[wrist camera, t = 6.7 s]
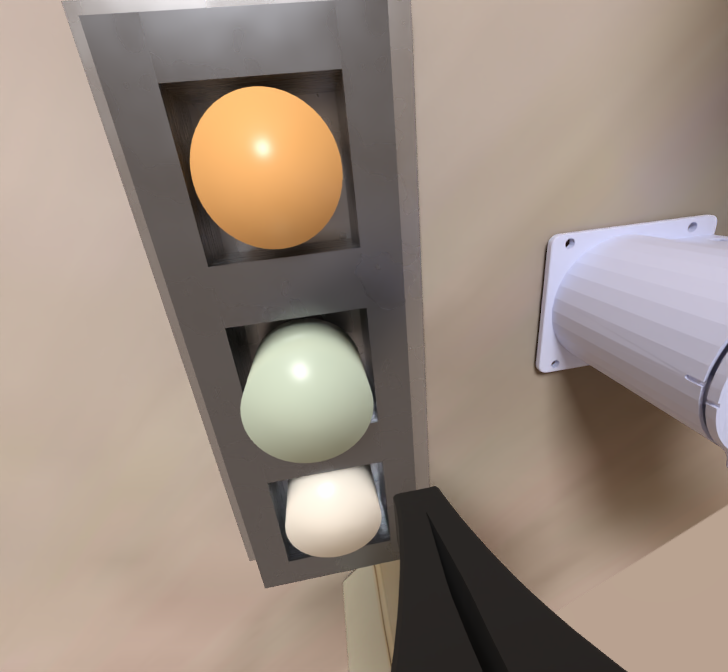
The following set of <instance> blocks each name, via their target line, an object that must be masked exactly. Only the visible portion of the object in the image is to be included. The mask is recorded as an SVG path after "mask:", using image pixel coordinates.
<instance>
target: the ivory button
mask: <svg viewBox="0 0 728 672" xmlns="http://www.w3.org/2000/svg"><path fill="white" fill-rule="evenodd" d="M381 519H382V518H381V510H380V505H379V501H378V497H377V492H376V488H375V484H374V479H373V475H372V471H371V466H370V464H368V465H362V466H357V467H352V468H346V469H341V470H335V471H330V472H325V473H319V474H314V475H309V476H303V477H298V478H293V479H288V490H287V506H286V522H285V530H286V535H287V537H288V539H289V541H290V542H291V544H292V545H293V546H294V547H295V548H297V549H298V550H300V551H301V552H303V553H305V554H308V555H311V556H316V557H338V556H343V555H346V554H349V553H352V552H354V551H356V550H358V549H360V548H362V547H363V546H365V545H366V544H367V543H368V542H369V541H371V540H372V538H373V537H374V536H375V535H376V533H377V532H378V530H379V527H380V524H381Z"/></svg>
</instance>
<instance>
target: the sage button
mask: <svg viewBox="0 0 728 672" xmlns="http://www.w3.org/2000/svg"><path fill="white" fill-rule="evenodd" d="M240 410H241V419H242V423H243V426H244V429H245V431H246V432H247V434H248V436H249V437H250V439H251V440H252V441H253V442H254V443H255V444H256V445H257V446H258V447H259V448H260V449H261V450H263V451H264V452H266V453H267V454H269V455H271V456H273V457H275V458H278V459H281V460H284V461H288V462H294V463H315V462H321V461H325V460H328V459H331V458H334V457H336V456H338V455H340V454H342V453H344V452H345V451H347V450H349V449H350V448H351V447H352V446H354V445H355V444H356V443H357V442H358V441H359V440H360V439H361V437H362V436H363V435H364V433H365V432H366V430H367V428H368V426H369V424H370V422H371V418H372V415H373V396H372V392H371V388H370V385H369V382H368V379H367V376H366V373H365V370H364V367H363V363H362V360H361V357H360V354H359V351H358V348H357V346H356V344H355V342H354V341H353V340H352V338H351V337H350V336H349V335H348V334H347V333H346V332H345V331H344V330H342V329H341V328H340V327H338V326H336V325H335V324H332V323H330V322H328V321H324V320H320V319H314V318H303V319H296V320H292V321H289V322H286V323H283V324H281V325H279V326H278V327H276V328H275V329H273V330H272V331H271V332H269V333H268V334H267V335H266V336H265V338H264V339H263V340H262V341H261V343H260V344H259V346H258V348H257V351H256V353H255V357H254V360H253V363H252V366H251V370H250V373H249V376H248V379H247V383H246V386H245V389H244V392H243V396H242V399H241V407H240Z"/></svg>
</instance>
